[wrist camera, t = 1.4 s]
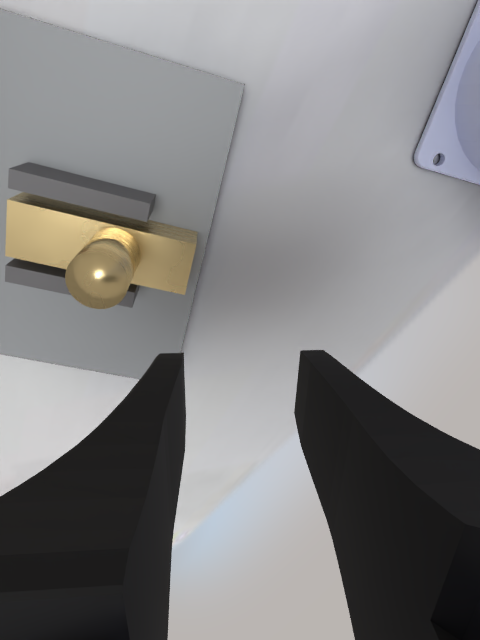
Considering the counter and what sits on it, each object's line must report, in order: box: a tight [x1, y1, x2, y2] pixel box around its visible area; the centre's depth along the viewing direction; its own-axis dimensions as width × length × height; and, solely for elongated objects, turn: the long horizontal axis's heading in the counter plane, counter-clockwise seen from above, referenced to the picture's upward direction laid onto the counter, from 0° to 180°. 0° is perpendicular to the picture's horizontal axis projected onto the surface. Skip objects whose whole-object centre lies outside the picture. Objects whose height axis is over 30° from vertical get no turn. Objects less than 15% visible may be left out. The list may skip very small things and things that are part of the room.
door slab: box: [0, 9, 245, 379], centre depth 18 cm, size 11×14×3 cm
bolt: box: [5, 192, 198, 309], centre depth 16 cm, size 7×2×5 cm, turn 75°
